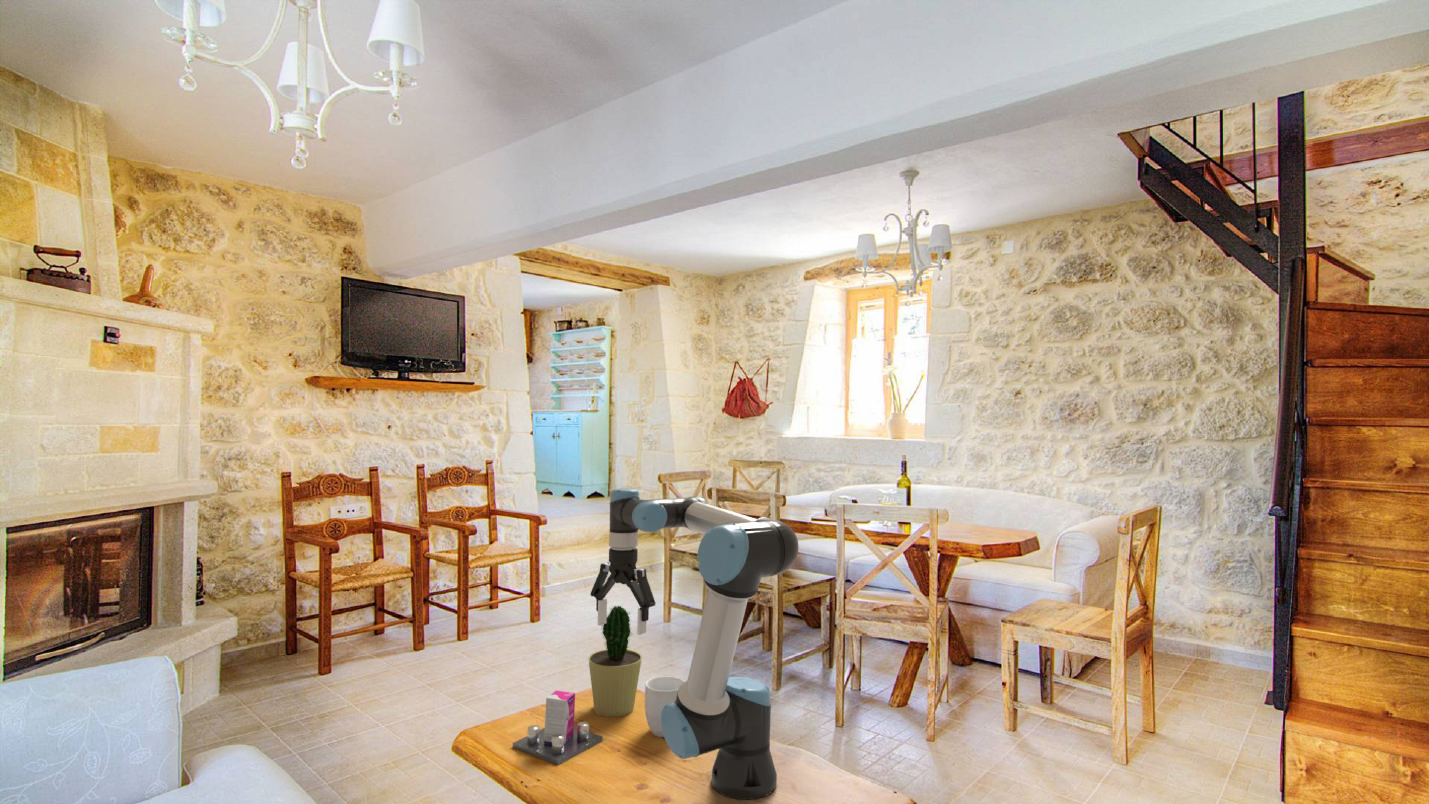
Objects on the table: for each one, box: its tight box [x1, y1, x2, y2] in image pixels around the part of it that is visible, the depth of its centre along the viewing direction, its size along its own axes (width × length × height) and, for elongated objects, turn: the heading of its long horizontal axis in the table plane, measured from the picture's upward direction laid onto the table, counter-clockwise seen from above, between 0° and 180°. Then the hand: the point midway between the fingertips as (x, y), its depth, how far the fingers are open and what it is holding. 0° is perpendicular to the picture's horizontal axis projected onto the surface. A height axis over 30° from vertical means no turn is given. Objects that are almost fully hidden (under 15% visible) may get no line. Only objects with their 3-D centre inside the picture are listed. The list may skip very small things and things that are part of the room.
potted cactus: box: [587, 604, 643, 718], centre depth 203 cm, size 15×15×30 cm
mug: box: [644, 675, 686, 739], centre depth 189 cm, size 15×11×13 cm
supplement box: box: [544, 690, 576, 745], centre depth 181 cm, size 6×6×12 cm
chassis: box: [512, 721, 604, 766], centre depth 181 cm, size 16×16×4 cm
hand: (621, 628), depth 184 cm, fingers open, 13 cm apart
